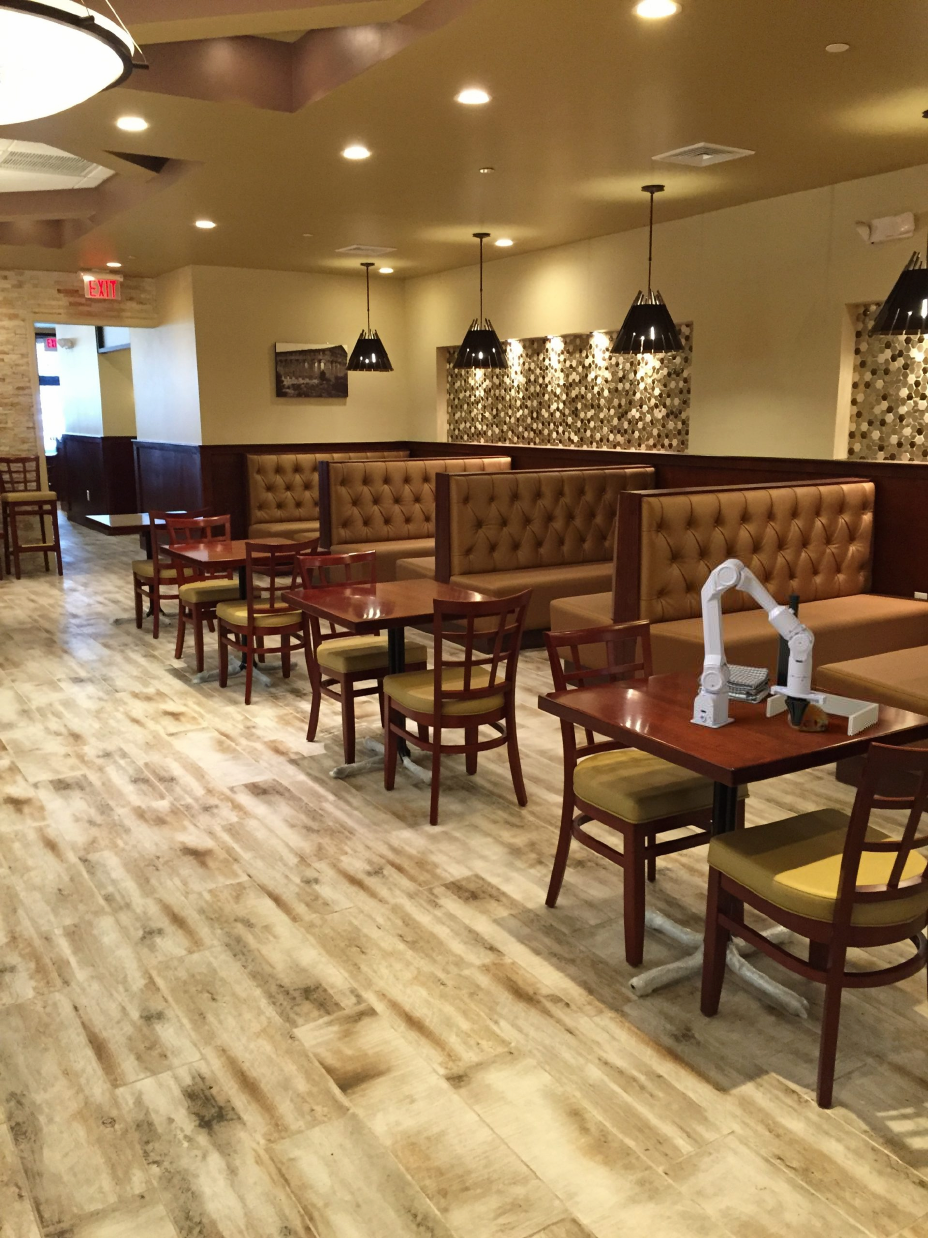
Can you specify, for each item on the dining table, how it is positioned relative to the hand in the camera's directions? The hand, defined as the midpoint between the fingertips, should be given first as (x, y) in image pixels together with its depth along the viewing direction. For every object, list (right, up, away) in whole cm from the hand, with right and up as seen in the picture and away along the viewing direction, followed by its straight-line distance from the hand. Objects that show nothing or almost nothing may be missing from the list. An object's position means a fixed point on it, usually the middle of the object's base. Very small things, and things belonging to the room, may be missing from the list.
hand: (796, 725), depth 260 cm
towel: (-7, +5, +35) cm, 36 cm away
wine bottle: (+9, +5, +34) cm, 36 cm away
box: (+10, +1, +10) cm, 15 cm away
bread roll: (+5, -1, +4) cm, 6 cm away
